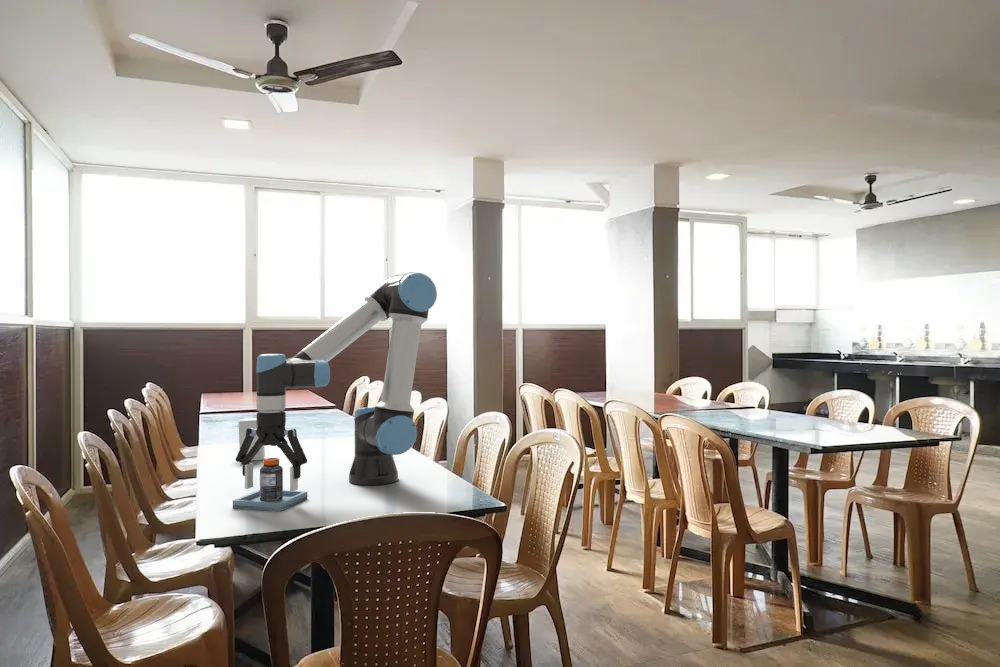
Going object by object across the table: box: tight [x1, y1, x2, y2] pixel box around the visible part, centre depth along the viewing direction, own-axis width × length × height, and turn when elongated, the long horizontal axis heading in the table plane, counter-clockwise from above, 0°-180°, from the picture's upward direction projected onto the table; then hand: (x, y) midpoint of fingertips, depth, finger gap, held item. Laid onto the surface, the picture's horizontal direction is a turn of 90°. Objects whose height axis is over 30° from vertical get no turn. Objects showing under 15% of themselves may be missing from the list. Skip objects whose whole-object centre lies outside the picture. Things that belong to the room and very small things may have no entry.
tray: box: [232, 489, 308, 512], centre depth 192 cm, size 14×14×2 cm
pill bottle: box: [259, 457, 284, 502], centre depth 192 cm, size 6×6×11 cm
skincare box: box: [238, 417, 266, 462], centre depth 256 cm, size 8×6×15 cm
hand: (271, 489), depth 192 cm, fingers open, 13 cm apart
